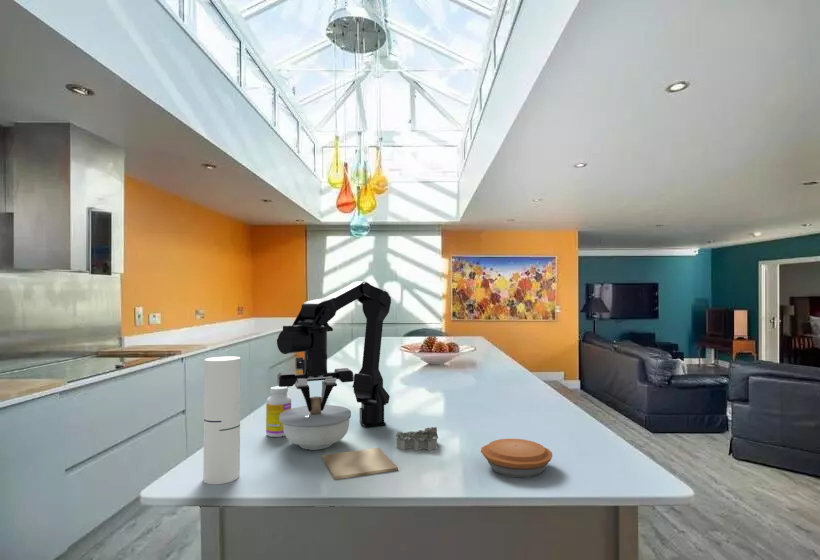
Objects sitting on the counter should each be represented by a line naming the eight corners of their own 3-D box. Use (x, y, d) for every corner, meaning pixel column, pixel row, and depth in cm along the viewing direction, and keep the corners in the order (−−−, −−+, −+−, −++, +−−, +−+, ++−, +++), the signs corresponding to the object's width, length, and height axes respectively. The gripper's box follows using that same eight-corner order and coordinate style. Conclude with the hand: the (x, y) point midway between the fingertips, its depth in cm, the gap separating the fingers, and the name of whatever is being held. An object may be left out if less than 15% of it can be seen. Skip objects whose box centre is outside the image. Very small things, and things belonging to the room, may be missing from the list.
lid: (342, 406, 131) (342, 388, 131) (358, 422, 114) (358, 402, 114) (276, 412, 124) (276, 393, 124) (282, 430, 107) (282, 408, 108)
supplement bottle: (284, 438, 124) (284, 390, 124) (261, 437, 125) (261, 389, 126) (295, 431, 131) (295, 385, 131) (273, 430, 132) (273, 384, 132)
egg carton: (438, 442, 121) (438, 426, 121) (436, 452, 114) (436, 435, 114) (398, 440, 122) (398, 425, 123) (394, 450, 115) (394, 433, 115)
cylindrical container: (210, 471, 101) (211, 356, 102) (243, 470, 102) (244, 356, 102) (198, 485, 94) (199, 361, 95) (234, 483, 94) (235, 360, 95)
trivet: (379, 450, 114) (379, 447, 114) (398, 470, 101) (398, 467, 101) (322, 457, 109) (322, 455, 109) (334, 479, 96) (334, 476, 96)
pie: (566, 467, 103) (565, 445, 103) (528, 488, 92) (528, 463, 92) (506, 451, 114) (506, 430, 114) (467, 467, 103) (466, 445, 103)
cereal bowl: (362, 444, 119) (362, 416, 119) (308, 461, 107) (308, 430, 107) (323, 431, 131) (323, 406, 131) (270, 445, 119) (270, 417, 119)
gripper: (344, 345, 130) (344, 400, 130) (275, 348, 124) (275, 407, 123) (354, 349, 120) (354, 410, 119) (279, 353, 113) (279, 417, 113)
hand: (315, 410), depth 119 cm, fingers closed on lid, 3 cm apart
